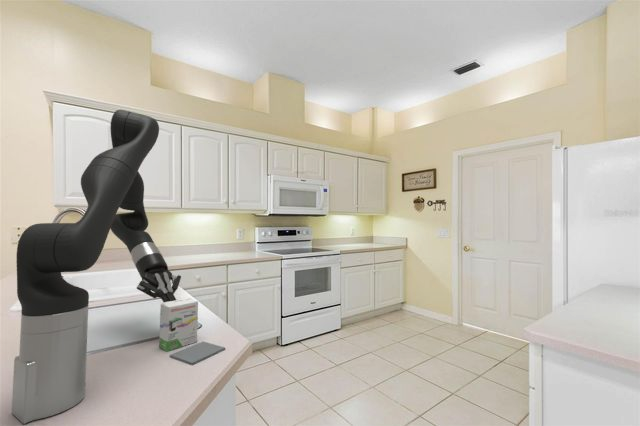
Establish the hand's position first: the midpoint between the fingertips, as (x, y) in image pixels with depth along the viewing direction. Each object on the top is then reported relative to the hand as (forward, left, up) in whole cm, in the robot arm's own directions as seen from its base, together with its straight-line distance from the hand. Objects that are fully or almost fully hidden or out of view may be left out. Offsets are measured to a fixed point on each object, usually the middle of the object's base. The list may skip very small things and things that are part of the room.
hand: (172, 305), depth 82 cm
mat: (-1, -12, -10) cm, 16 cm away
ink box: (0, -3, -10) cm, 11 cm away
